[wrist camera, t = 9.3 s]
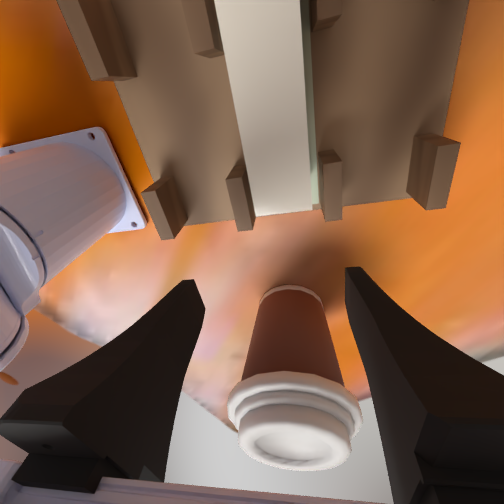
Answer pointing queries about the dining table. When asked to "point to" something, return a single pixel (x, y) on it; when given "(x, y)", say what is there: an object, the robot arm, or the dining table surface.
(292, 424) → the coffee cup
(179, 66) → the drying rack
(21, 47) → the dining table surface
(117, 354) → the robot arm
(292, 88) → the cream rectangular block
